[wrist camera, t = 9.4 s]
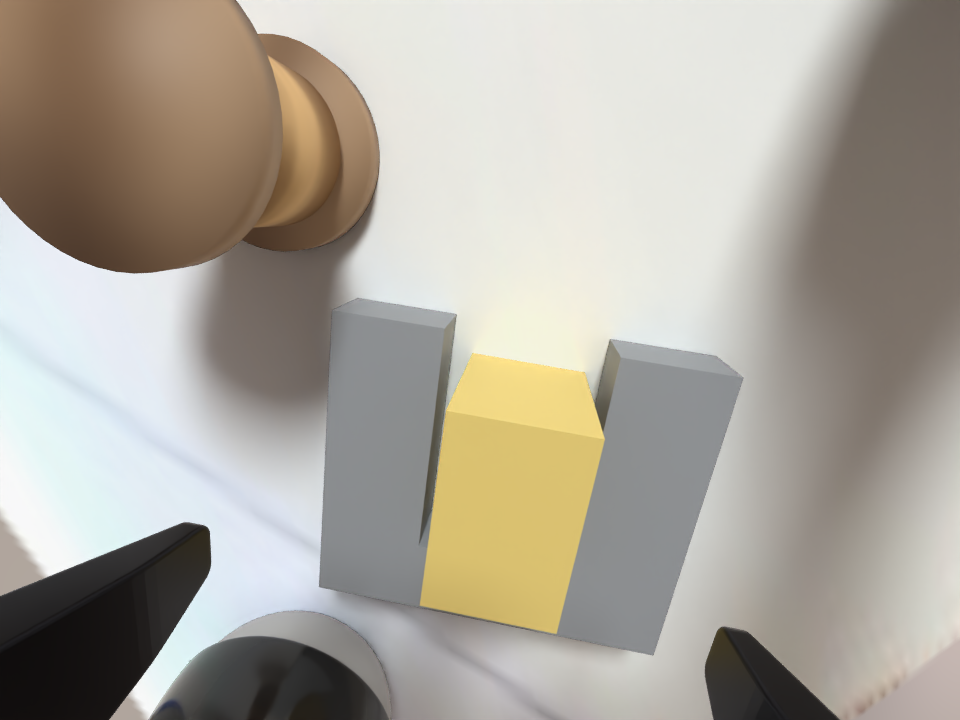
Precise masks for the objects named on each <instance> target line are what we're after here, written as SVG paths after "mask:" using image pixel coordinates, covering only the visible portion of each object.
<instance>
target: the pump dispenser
mask: <svg viewBox="0 0 960 720" xmlns="http://www.w3.org/2000/svg"><path fill="white" fill-rule="evenodd" d="M148 720H391V701H390V694H389V688H388V684H387V680H386V677H385V674H384V671H383V669H382V666H381V664H380V662H379V660H378V658H377V656H376V655H375V653H374V652H373V650H372V649H371V647H370V646H369V645H368V644H367V643H366V641H365V640H364V639H363V638H362V637H361V636H360V635H358V634H357V633H356V632H355V631H354V630H352V629H351V628H350V627H348V626H347V625H345V624H344V623H342V622H340V621H338V620H336V619H334V618H331V617H329V616H326V615H323V614H319V613H314V612H308V611H283V612H277V613H273V614H268V615H265V616H262V617H260V618H257V619H254V620H252V621H250V622H248V623H246V624H244V625H242V626H241V627H239V628H237V629H236V630H234V631H233V632H231V633H230V634H228V635H227V636H226V637H224V638H223V639H222V640H221V641H219V642H218V643H216V644H214V645H212V646H210V647H208V648H206V649H204V650H203V651H201V652H200V653H199V654H197V655H196V656H195V657H194V658H193V659H192V660H191V661H190V662H189V663H188V664H187V665H186V666H185V668H184V669H183V670H182V671H181V673H180V674H179V675H178V676H177V678H176V679H175V680H174V682H173V683H172V685H171V686H170V687H169V689H168V690H167V691H166V693H165V694H164V696H163V697H162V699H161V700H160V702H159V704H158V705H157V707H156V708H155V710H154V711H153V713H152V715H151V716H150V718H149V719H148Z"/></svg>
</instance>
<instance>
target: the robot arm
mask: <svg viewBox="0 0 960 720" xmlns="http://www.w3.org/2000/svg"><path fill="white" fill-rule="evenodd" d="M210 567H211V545H210V531H209V529H208V527H206V526H204V525H200V524H194V523H189V522H185V523H181V524H178V525H176V526H173V527H171V528H168V529H166V530H163V531H161V532H158V533H156V534H153V535H151V536H148V537H146V538H143V539H141V540H139V541H136V542H134V543H131V544H129V545H126V546H124V547H121V548H119V549H116V550H114V551H111V552H109V553H106V554H104V555H101V556H99V557H96V558H94V559H91V560H89V561H86V562H84V563H81V564H79V565H76V566H74V567H71V568H69V569H66V570H64V571H61V572H59V573H56V574H54V575H52V576H49V577H47V578H44V579H42V580H39V581H37V582H34V583H32V584H29V585H27V586H24V587H22V588H19V589H17V590H14V591H12V592H9V593H7V594H4V595H2V596H0V720H109V719H110V718H111V716H112V715H113V714H114V713H115V711H116V710H117V709H118V707H119V706H120V705H121V704H122V702H123V701H124V700H125V698H126V697H127V696H128V694H129V693H130V692H131V690H132V689H133V688H134V686H135V685H136V684H137V683H138V681H139V680H140V679H141V677H142V676H143V675H144V673H145V672H146V670H147V669H148V668H149V666H150V665H151V664H152V662H153V661H154V659H155V658H156V656H157V655H158V653H159V652H160V650H161V649H162V647H163V646H164V644H165V643H166V641H167V640H168V638H169V636H170V635H171V633H172V632H173V630H174V628H175V627H176V625H177V624H178V622H179V621H180V619H181V617H182V616H183V614H184V613H185V611H186V610H187V608H188V606H189V605H190V603H191V602H192V600H193V598H194V597H195V595H196V594H197V592H198V591H199V589H200V587H201V586H202V584H203V583H204V581H205V579H206V578H207V576H208V574H209V571H210ZM705 679H706V684H707V689H708V694H709V699H710V705H711V710H712V715H713V720H840V719H839V718H838V717H837V716H836V715H835V714H833V713H832V712H831V711H830V710H829V709H828V708H827V707H826V706H825V705H824V704H823V703H822V702H821V701H820V700H819V699H818V698H817V697H816V696H815V695H814V694H813V693H812V692H810V691H809V690H808V689H807V688H806V687H805V686H804V685H803V684H802V683H801V682H800V681H799V680H798V679H797V678H796V677H795V676H794V675H793V674H792V673H791V672H790V671H788V670H787V669H786V668H785V667H784V666H783V665H782V664H781V663H780V662H779V661H778V660H777V659H776V658H775V657H774V656H773V655H772V654H771V653H770V652H769V651H768V650H767V649H765V648H764V647H763V646H762V645H761V644H760V643H759V642H758V641H757V640H756V639H755V638H754V637H753V636H752V635H751V634H749V633H748V632H747V631H744V630H740V629H735V628H730V627H721V628H719V629H718V631H717V633H716V635H715V638H714V641H713V644H712V646H711V649H710V652H709V655H708V658H707V660H706V664H705Z"/></svg>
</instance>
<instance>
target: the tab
mask: <svg viewBox="0 0 960 720" xmlns="http://www.w3.org/2000/svg"><path fill="white" fill-rule="evenodd" d="M604 441H605V438H604V435H603V431H602V428H601V425H600V421H599V418H598V415H597V411H596V408H595V405H594V402H593V398H592V395H591V392H590V388H589V385H588V382H587V378H586V375H585V373H584V372H579V371H573V370H567V369H561V368H556V367H550V366H544V365H538V364H533V363H527V362H521V361H515V360H510V359H504V358H498V357H492V356H486V355H481V354H475V353H472V355H471V358H470V360H469V362H468V364H467V366H466V368H465V371H464V373H463V375H462V377H461V379H460V381H459V384H458V386H457V388H456V390H455V392H454V394H453V397H452V399H451V401H450V403H449V405H448V407H447V410H446V414H445V422H444V429H443V437H442V444H441V451H440V459H439V466H438V474H437V481H436V489H435V496H434V503H433V511H432V518H431V526H430V533H429V540H428V548H427V555H426V563H425V570H424V577H423V585H422V592H421V600H420V606H424V607H429V608H434V609H439V610H444V611H448V612H453V613H458V614H463V615H467V616H472V617H477V618H482V619H487V620H491V621H496V622H501V623H506V624H511V625H515V626H520V627H525V628H530V629H534V630H539V631H544V632H549V633H554V634H557V630H558V626H559V622H560V618H561V614H562V610H563V606H564V602H565V598H566V594H567V590H568V586H569V582H570V578H571V574H572V570H573V566H574V562H575V558H576V554H577V550H578V546H579V542H580V538H581V534H582V530H583V526H584V521H585V517H586V513H587V509H588V505H589V501H590V497H591V493H592V489H593V485H594V481H595V477H596V473H597V469H598V465H599V461H600V457H601V453H602V449H603V445H604Z"/></svg>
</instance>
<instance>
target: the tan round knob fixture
mask: <svg viewBox="0 0 960 720" xmlns="http://www.w3.org/2000/svg"><path fill="white" fill-rule="evenodd" d="M378 171H379V144H378V137H377V132H376V128H375V124H374V121H373V118H372V115H371V112H370V110H369V108H368V106H367V104H366V102H365V100H364V98H363V96H362V95H361V93H360V92H359V90H358V89H357V87H356V86H355V84H354V83H353V82H352V81H351V80H350V78H349V77H348V76H347V75H346V74H345V73H344V72H343V71H342V70H341V69H340V68H339V67H338V66H336V65H335V64H334V63H332V62H331V61H330V60H328V59H327V58H326V57H324V56H323V55H321V54H320V53H319V52H317V51H316V50H315V49H313V48H311V47H309V46H308V45H306V44H304V43H302V42H300V41H297V40H294V39H292V38H289V37H285V36H280V35H275V34H257V32H256V30H255V28H254V26H253V24H252V23H251V21H250V20H249V18H248V17H247V15H246V14H245V12H244V11H243V9H242V8H241V6H240V5H239V3H238V2H237V1H236V0H0V197H1V198H2V200H3V201H4V202H5V203H6V204H7V206H8V207H9V208H10V209H11V211H12V212H13V213H14V214H15V215H16V216H17V217H18V218H19V219H20V220H21V221H22V222H23V223H24V224H25V225H26V226H27V227H29V228H30V229H31V230H32V231H34V232H35V233H36V234H37V235H38V236H40V237H41V238H42V239H43V240H45V241H46V242H48V243H49V244H51V245H52V246H54V247H55V248H57V249H58V250H60V251H61V252H63V253H65V254H67V255H69V256H71V257H73V258H75V259H77V260H79V261H82V262H84V263H87V264H90V265H92V266H95V267H98V268H102V269H107V270H111V271H115V272H125V273H152V272H159V271H165V270H172V269H178V268H184V267H189V266H194V265H199V264H202V263H204V262H207V261H210V260H212V259H215V258H216V257H218V256H220V255H222V254H223V253H225V252H227V251H229V250H230V249H231V248H232V247H234V246H235V245H236V244H237V243H239V242H240V241H241V240H244V241H245V242H247V243H249V244H252V245H255V246H257V247H260V248H264V249H269V250H274V251H298V250H304V249H310V248H315V247H320V246H322V245H325V244H328V243H330V242H332V241H334V240H336V239H338V238H340V237H341V236H342V235H344V234H345V233H346V232H348V231H349V230H350V229H351V228H352V227H353V226H354V225H355V224H356V223H357V222H358V220H359V219H360V218H361V216H362V215H363V214H364V212H365V210H366V208H367V207H368V205H369V203H370V201H371V198H372V196H373V193H374V190H375V187H376V183H377V179H378Z"/></svg>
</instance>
